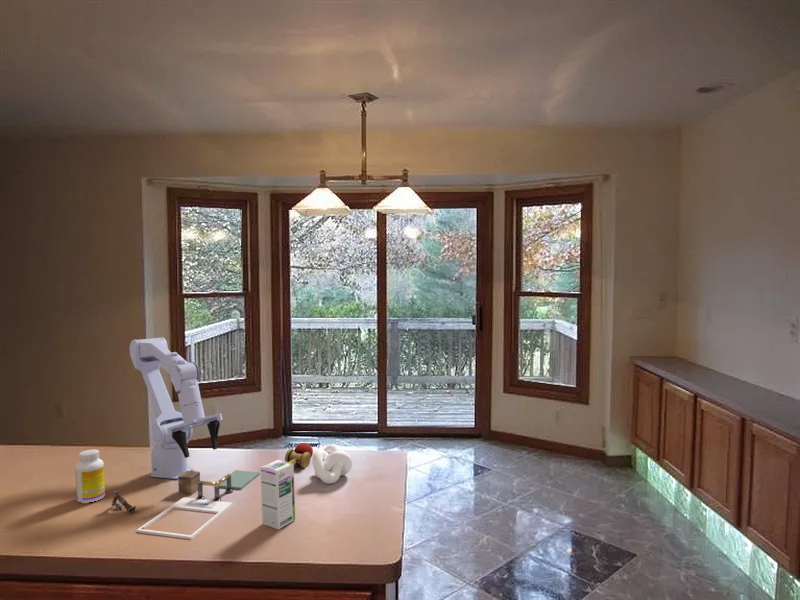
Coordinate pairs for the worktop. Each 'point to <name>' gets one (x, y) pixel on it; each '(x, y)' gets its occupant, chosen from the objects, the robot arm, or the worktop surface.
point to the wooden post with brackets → (123, 502)
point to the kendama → (300, 455)
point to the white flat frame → (190, 505)
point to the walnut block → (188, 482)
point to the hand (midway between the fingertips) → (201, 453)
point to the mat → (240, 479)
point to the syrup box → (277, 494)
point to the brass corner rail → (215, 487)
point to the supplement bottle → (90, 477)
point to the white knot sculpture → (331, 463)
